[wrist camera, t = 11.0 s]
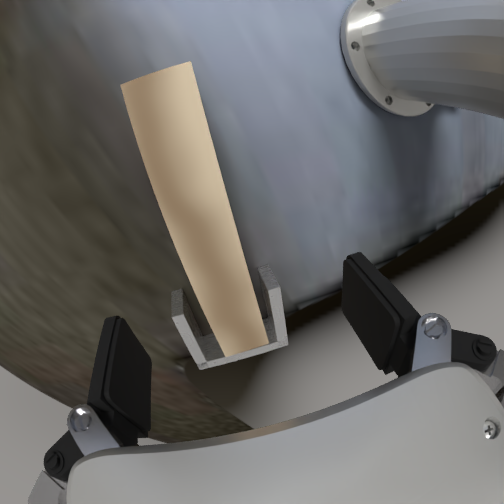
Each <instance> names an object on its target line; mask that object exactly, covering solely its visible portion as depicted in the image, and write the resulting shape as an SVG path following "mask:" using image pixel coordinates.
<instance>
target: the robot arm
mask: <svg viewBox="0 0 504 504" xmlns="http://www.w3.org/2000/svg"><path fill="white" fill-rule="evenodd" d="M340 39H341V45H342V51H343V54H344V57H345V60H346V64H347V66H348V68H349V70H350V72H351V74H352V76H353V78H354V79H355V81H356V82H357V84H358V85H359V87H360V88H361V89H362V91H363V92H364V93H365V94H366V95H367V96H368V98H369V99H371V100H372V101H373V102H374V103H375V104H376V105H378V106H379V107H381V108H382V109H384V110H386V111H388V112H390V113H393V114H396V115H402V116H418V115H422V114H424V113H425V112H427V111H429V110H430V109H431V108H432V107H433V106H434V105H435V104H438V105H445V106H450V107H456V108H461V109H466V110H471V111H475V112H479V113H483V114H487V115H491V116H495V117H499V118H502V119H504V0H405V1H402V0H355V1H354V2H353V3H352V4H351V5H350V6H349V7H348V8H347V10H346V11H345V13H344V15H343V18H342V23H341V34H340ZM342 311H343V313H344V315H345V317H346V318H347V320H348V321H349V323H350V325H351V326H352V327H353V329H354V331H355V332H356V334H357V335H358V337H359V339H360V340H361V342H362V344H363V345H364V347H365V348H366V350H367V352H368V353H369V355H370V357H371V358H372V360H373V361H374V363H375V365H376V366H377V368H378V369H379V370H383V371H384V373H385V375H386V374H388V373H390V372H393V371H395V372H396V374H397V375H398V378H397V379H394V380H392V381H390V382H388V383H386V384H384V385H381V386H379V387H377V388H375V389H373V390H370V391H368V392H365V393H363V394H361V395H358V396H356V397H354V398H351V399H349V400H346V401H344V402H341V403H338V404H336V405H333V406H330V407H328V408H325V409H322V410H320V411H316V412H313V413H310V414H307V415H304V416H301V417H298V418H295V419H291V420H288V421H284V422H281V423H277V424H274V425H270V426H266V427H262V428H258V429H254V430H249V431H245V432H240V433H235V434H230V435H225V436H220V437H214V438H208V439H201V440H194V441H187V442H178V443H168V444H158V445H144V446H139V445H138V444H137V443H138V438H148V431H150V429H151V369H152V362H151V359H150V357H149V355H148V354H147V352H146V351H145V349H144V348H143V346H142V345H141V344H140V342H139V341H138V339H137V338H136V336H135V335H134V333H133V332H132V330H131V329H130V327H129V325H128V324H127V322H126V321H125V319H124V318H120V317H119V316H113V317H109V318H106V319H105V321H104V325H103V329H102V333H101V337H100V341H99V345H98V349H97V354H96V358H95V363H94V368H93V373H92V378H91V383H90V389H89V395H88V401H87V405H86V404H81V405H77V406H76V407H74V408H73V409H72V410H71V412H70V413H69V415H68V419H67V425H68V428H69V430H68V431H67V432H66V433H65V434H64V435H63V436H62V437H61V438H60V439H59V440H58V441H57V442H56V443H55V444H54V445H53V446H52V447H51V448H50V449H49V450H48V451H47V453H46V454H45V457H44V466H45V471H42V472H41V473H40V476H39V477H38V479H37V481H36V483H35V485H34V487H33V489H32V492H31V494H30V496H29V499H28V504H504V351H503V350H501V349H500V350H499V351H497V350H496V346H495V344H494V343H493V341H492V340H491V339H489V338H488V337H485V336H482V335H477V334H472V333H467V332H463V331H458V330H453V329H451V326H450V323H449V322H448V320H447V319H446V318H444V317H443V316H441V315H439V314H436V313H429V314H425V315H423V316H422V317H421V316H420V315H419V313H418V312H417V311H416V310H415V309H414V308H413V306H412V305H411V304H410V303H409V302H408V301H407V300H406V298H405V297H404V296H403V295H402V294H401V293H400V292H399V291H398V290H397V288H396V287H395V286H394V285H393V284H392V283H391V282H390V281H389V280H388V279H387V278H386V277H384V276H383V275H382V274H381V273H380V272H379V271H378V270H377V269H376V267H375V266H374V265H373V264H372V263H371V262H370V261H369V260H368V259H367V258H366V257H365V256H364V255H363V254H362V253H361V252H358V253H355V254H351V255H348V256H347V258H346V260H344V262H343V288H342Z"/></svg>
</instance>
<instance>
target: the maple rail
mask: <svg viewBox="0 0 504 504" xmlns="http://www.w3.org/2000/svg"><path fill="white" fill-rule="evenodd" d="M121 89H122V92H123V96H124V100H125V103H126V107H127V110H128V114H129V117H130V120H131V124H132V127H133V130H134V133H135V137H136V140H137V143H138V146H139V149H140V152H141V155H142V158H143V161H144V164H145V167H146V170H147V173H148V176H149V179H150V182H151V184H152V187H153V190H154V193H155V195H156V198H157V201H158V204H159V206H160V209H161V212H162V214H163V217H164V219H165V222H166V225H167V227H168V230H169V232H170V235H171V237H172V240H173V242H174V245H175V247H176V250H177V252H178V254H179V257H180V259H181V262H182V264H183V266H184V269H185V271H186V273H187V276H188V278H189V280H190V283H191V285H192V287H193V289H194V292H195V294H196V296H197V298H198V300H199V303H200V305H201V307H202V309H203V311H204V314H205V316H206V318H207V320H208V322H209V324H210V326H211V328H212V330H213V332H214V335H215V337H216V339H217V341H218V343H219V345H220V347H221V349H222V351H223V353H224V355H225V357H228V356H231V355H235V354H238V353H241V352H244V351H247V350H250V349H254V348H257V347H260V346H263V345H266V344H269V341H268V338H267V334H266V331H265V327H264V324H263V321H262V317H261V314H260V310H259V307H258V303H257V300H256V296H255V293H254V289H253V286H252V282H251V279H250V275H249V272H248V268H247V265H246V261H245V258H244V254H243V251H242V247H241V244H240V240H239V236H238V233H237V229H236V226H235V222H234V219H233V215H232V211H231V208H230V204H229V201H228V197H227V193H226V190H225V186H224V183H223V179H222V175H221V172H220V168H219V164H218V161H217V157H216V153H215V150H214V146H213V142H212V139H211V135H210V131H209V128H208V124H207V120H206V117H205V113H204V109H203V105H202V102H201V98H200V94H199V90H198V87H197V83H196V79H195V75H194V72H193V68H192V64H191V61H190V62H187V63H183V64H179V65H176V66H173V67H169V68H166V69H163V70H160V71H157V72H154V73H151V74H148V75H145V76H142V77H140V78H137V79H134V80H132V81H129V82H127V83H124V84H122V85H121Z"/></svg>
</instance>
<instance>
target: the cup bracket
mask: <svg viewBox="0 0 504 504" xmlns="http://www.w3.org/2000/svg"><path fill="white" fill-rule="evenodd" d="M257 269H258V273H259V278H260V283H261V288H262V293H263V298H264V303H265V308H266V313H267V318H266V319H262V321H263V324H264V327H265V331H266V334H267V338H268V341H269V344H266V345H263V346H260V347H257V348H254V349H250V350H247V351H244V352H241V353H238V354H235V355H231V356H228V357H225V355H224V353H223V351H222V349H221V347H220V345H219V343H218V341H217V339H216V337H215V335H214V333H213V334H209V335H206V336H202V333H201V331H200V329H199V327H198V324H197V322H196V320H195V318H194V315H193V313H192V311H191V308H190V306H189V304H188V301H187V299H186V297H185V294H184V292H183V289H179V290H175V291H172V319H173V321H174V323H175V325H176V327H177V329H178V330H179V332H180V334H181V336H182V338H183V340H184V342H185V344H186V346H187V347H188V349H189V351H190V353H191V355H192V357H193V358H194V360H195V362H196V364H197V366H198V367H199V369H200V370H202V369H206V368H210V367H214V366H218V365H222V364H226V363H229V362H233V361H237V360H240V359H244V358H247V357H250V356H254V355H257V354H261V353H264V352H267V351H270V350H274V349H277V348H280V347H283V346H286V345H288V338H287V331H286V325H285V317H284V310H283V303H282V297H281V290H280V286H279V284H278V282H277V280H276V278H275V277H274V275H273V273H272V271H271V269H270V267H269V266H268V265H264V266H261V267H257Z"/></svg>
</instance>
